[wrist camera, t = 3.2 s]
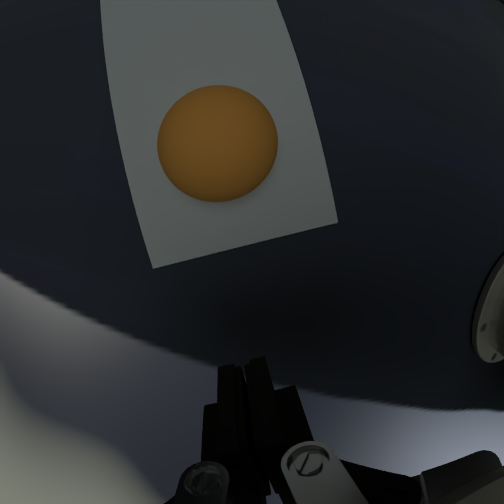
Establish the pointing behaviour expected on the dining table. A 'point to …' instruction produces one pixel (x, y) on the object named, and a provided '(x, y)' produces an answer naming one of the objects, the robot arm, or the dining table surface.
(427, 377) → the dining table surface
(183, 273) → the dining table surface
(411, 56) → the dining table surface
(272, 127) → the ball
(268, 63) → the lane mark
